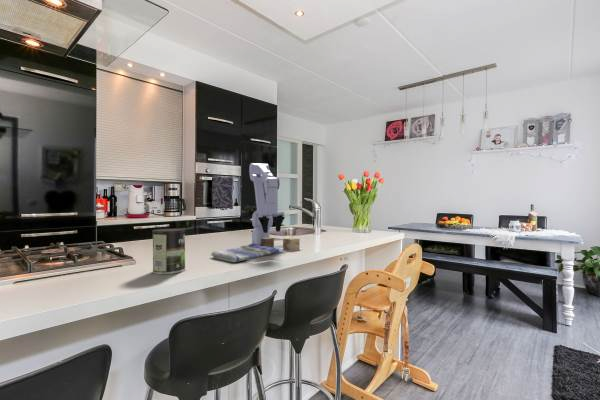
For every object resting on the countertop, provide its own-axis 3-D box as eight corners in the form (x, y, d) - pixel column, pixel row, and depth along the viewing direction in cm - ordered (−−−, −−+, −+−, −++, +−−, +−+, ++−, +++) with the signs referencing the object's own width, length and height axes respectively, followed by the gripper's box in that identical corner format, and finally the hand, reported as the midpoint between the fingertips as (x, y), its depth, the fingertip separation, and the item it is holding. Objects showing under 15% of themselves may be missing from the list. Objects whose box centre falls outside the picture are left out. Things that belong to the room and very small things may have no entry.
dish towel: (209, 257, 126) (209, 251, 126) (254, 248, 143) (254, 242, 143) (234, 263, 114) (233, 256, 114) (279, 253, 131) (279, 246, 131)
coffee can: (188, 266, 109) (188, 227, 109) (181, 274, 99) (181, 230, 99) (157, 267, 108) (157, 228, 108) (148, 275, 97) (147, 231, 97)
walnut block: (260, 248, 143) (260, 238, 143) (268, 247, 146) (268, 237, 146) (266, 249, 140) (266, 239, 140) (273, 248, 143) (273, 238, 143)
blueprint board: (255, 250, 143) (255, 248, 143) (281, 246, 154) (281, 244, 154) (275, 255, 131) (275, 253, 131) (303, 250, 142) (303, 248, 142)
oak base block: (282, 248, 142) (282, 238, 142) (291, 247, 146) (291, 237, 146) (290, 250, 138) (290, 239, 138) (299, 249, 142) (299, 238, 142)
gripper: (265, 203, 134) (265, 234, 134) (288, 202, 144) (288, 231, 144) (255, 203, 139) (255, 232, 139) (278, 202, 149) (278, 230, 149)
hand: (271, 232), depth 142 cm, fingers open, 7 cm apart
